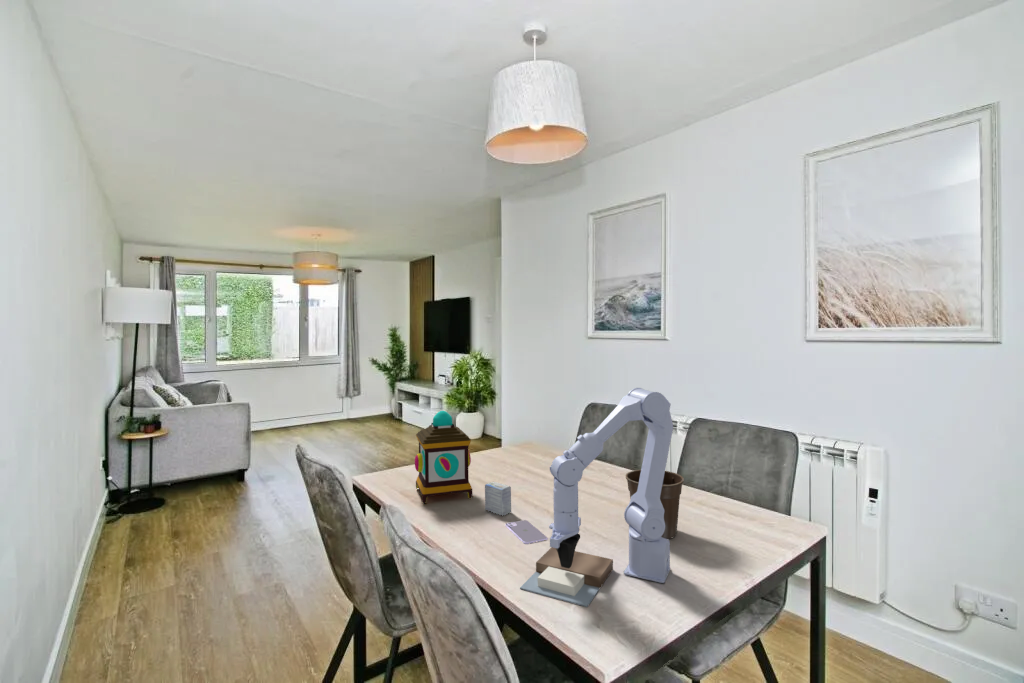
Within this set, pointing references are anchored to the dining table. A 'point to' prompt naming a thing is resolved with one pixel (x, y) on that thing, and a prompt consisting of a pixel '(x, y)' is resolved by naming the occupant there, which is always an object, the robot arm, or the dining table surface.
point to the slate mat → (580, 598)
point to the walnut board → (579, 566)
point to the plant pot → (663, 498)
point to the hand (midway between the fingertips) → (566, 566)
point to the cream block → (561, 581)
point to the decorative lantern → (442, 458)
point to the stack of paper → (498, 498)
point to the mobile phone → (525, 531)
